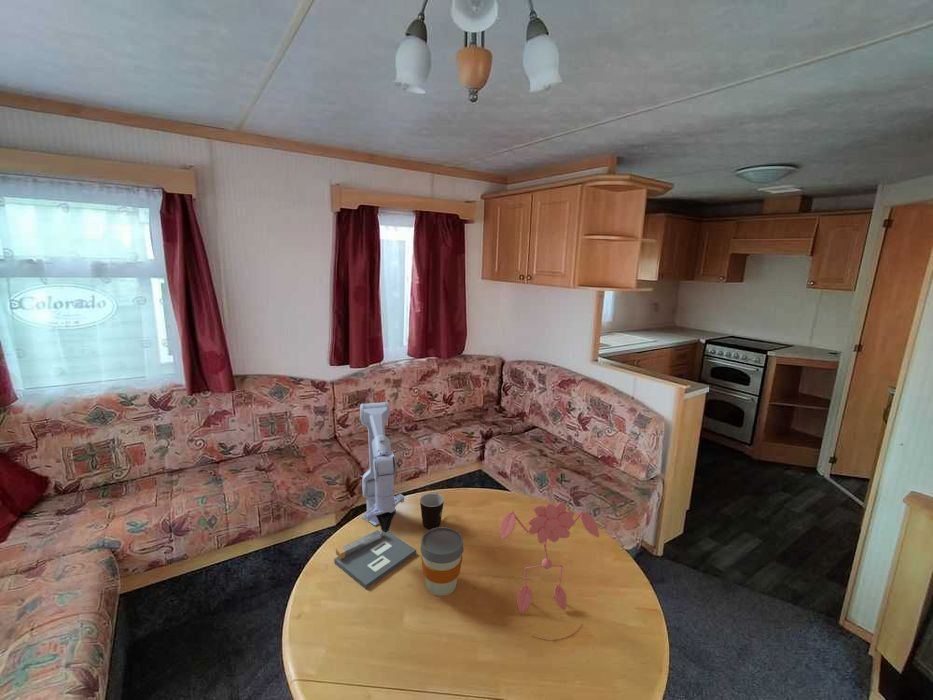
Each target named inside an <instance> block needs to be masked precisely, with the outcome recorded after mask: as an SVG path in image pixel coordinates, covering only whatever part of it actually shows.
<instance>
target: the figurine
mask: <svg viewBox="0 0 933 700" xmlns="http://www.w3.org/2000/svg"><path fill="white" fill-rule="evenodd" d="M533 511H534V513H535V515H536V516H533V517H532V518H531V519H529V520H528V525H530V526H529V529H528V528H526V527H525V525H524V524H523V523H522V521H520V519H519V518H518V516H517V515H516V514H515V513H514V511H513V510H511V511H510V512H509V513H506V514H505V516H504V517H503V518H502V520H501V522H500V526H499V527H500V528H499V531H500V536H501V540H502V541H504V540H505V539H507V538H508V537H509V536H510V535H511V534H512V533H513V531H514V530H515V526H516V521H517V522H518V524H519V525H520V526H521V527H522V528H523V530H524V531H525V532H526V533H527V534H528V533H529V534H530V535H535V534H537V541H538V543H539V544H543V549H544V552H545V558H543V559H542V561H541V565H533V566H526V567H525V568H524V579H525V580H524V583H525V584H524V585H523V586H522V587H521V588H520V590H519V591H518V595H517V597H516V598H517V602H516V603H517V606H518V610H519V613H520V614H521V615H522V614H523V613H525V611H526V610H527V609H529V607H530V605H531V602H532V596H533V595H532V590H531V588H530V586H529V585H528V583H527V582H528V581H527V569H534V568H544V569H545V570H549V569H551V568H552V567H559V568H560V576H559V582H558V584H556V585H555V587H554V589H553V591H554V592H553V593H554V594H553V597H552V598H554V597H555V598H554V600H555V602H556V604H557V606H558V607H559V608H560V609H562V610H563V611H564V610H565V611H566V609H567V594H566V592H565V590H564V589H563V587H562V586H561V581H562V575H563V568H564V567H563V565H562V564H561V565H560V564H553V562H552V560H551V559H550V558H549V556H548V551H547V550H548V549H547V541H548V540H549V541H550V542H552V543H556V542H558V541H559V539H568V538H569V537H570V536H571V532H570V531H569V530H570V529H571V528H572V527H573V526H575V525H576V522H577V520H578V519H579V518H580V520H581V523H582V526H583V527H584V529H585V530H586V531H587V532H588V533H589V534H590V535H592V536H595V537H597V538H600V533H599V528H598V525H597V523H596V521H595V519H594V518H593V517H592V515H590V514H589V513H588V512H585V511H583V510H579V513H578V515H577V516H576V517H575V518H574V511H572V510H569V511H567V505H566V503H565V501H560V502H558V503H557V504H556V505H555V504H552V503H547V504H546V506H543V505H537V506H535V507H534V509H533ZM573 518H574V519H573ZM576 634H577V633H575V632H573V633H572V634H571V635H568V636H566V637H563V638H560V639H556V640H555V643H556V642H558V641H559V640H564V639H566V638H569V637H571V636H572V635H574V636H576ZM531 637H532V638H534V639H535V638H536V639H539V640H541V638H539V637H536V636H531ZM542 640H544V641H546V639H544V638H542Z"/></svg>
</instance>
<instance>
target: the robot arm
mask: <svg viewBox="0 0 933 700" xmlns="http://www.w3.org/2000/svg"><path fill="white" fill-rule="evenodd" d="M390 412H391V411H390V404H389V403H388V401H383V402H382V401H381V402H371V403H361V404H360V405H359V416H360V423H361V425H362V426H366V429H367V435H368V436H367V438H368V439H367V440H368V458H369V459H368V461H369V462H368V463H369V469H368V470H367V471H365V472H364V473H363V475H362V477H361V478H362V479H361V481H362V482H361V487H362V490H361V491H362V497H364V498H366V512H364V513H363V515H361V518H363V520H364V521H366V522H369V523H370V524H371V525H373V526H377V525H379V526H380V529H381V530H382V531H384V532H385V533H386V532H387V531H388V532H389V530H390V528H391V527H390V526H391V523H392V520H393V519H394V517H395V515H396V513H397V509H396V507H397V506H398V505H399V503H404V502H405V496H404V495H403V494H401V493H399V494H397V495H395V474H396V472H397V462H396V461H397V460H396V457H395V454H394V452H393V451H392V447H391V441H390V437H388V436H386V431H385V430H386V428H385V423H387V422H388V420H389V418H390V414H391V413H390Z"/></svg>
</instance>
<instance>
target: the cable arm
mask: <svg viewBox="0 0 933 700" xmlns="http://www.w3.org/2000/svg"><path fill="white" fill-rule="evenodd" d="M380 538H382V533H381V532H380V530H378V529H377V530H375V531H372V532H371V533H368V534H367V535H364V536H362V537H360V538H358V539H355V540H353V541H352V542H349V543H347V544H345V545H343V546H342V545H340V546H338V547H336V548H335V555H336V556H337V557H339V558H340V559H342V558H344V557H345V555H347V554H349V553H351V552H353V551H355V550H357V549H359V548H361V547H364V546H366V545H368V544H370V543H372V542H374V541H376V540H378V539H380Z"/></svg>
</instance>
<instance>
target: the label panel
mask: <svg viewBox="0 0 933 700" xmlns="http://www.w3.org/2000/svg"><path fill="white" fill-rule="evenodd" d="M379 532H381V533H382V538H380V539H378V540H376V541H374V542H372V543H370V544H368V545H366V546H364V547H361V548H359V549H357V550H355V551H353V552H351V553H349V554H347V555H345V557H344V558H342V559H340V558H339V557H338V556H337V557H335V558H333V561H334V565H336V566H337V567H338V568H340V569H341V570H342V571H343V572H344V573H346V574H347V575H348V576H349V577H350V578H351V579H353V580H354V581H355V582H356V583H357V584H359V585H360V586H361V587H362V588H364V589H365V590H367V589H368V588H370V587H371V586H373V585H375V584H376V583H377V582H379V581H380V580H381V579H383V578H384V577H385V576H387V575H388V574H389V573H391V572H392V571H394V570H396V569H397V568H398V567H400V566H401V565H403V564H404V563H405V562H406V561H408V560H409V559H411V558H412V557H413V556H415V555H417V549H415V548H414V547H413V546H411V545H410V544H408V543H406V542H405V541H404V540H402V539H400V538H399V537H397V536H396V535H395V534H393V533H391V532H389V531H387V532H386V533H385V532H384V531H382V530H381V528H380V530H379Z"/></svg>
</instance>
